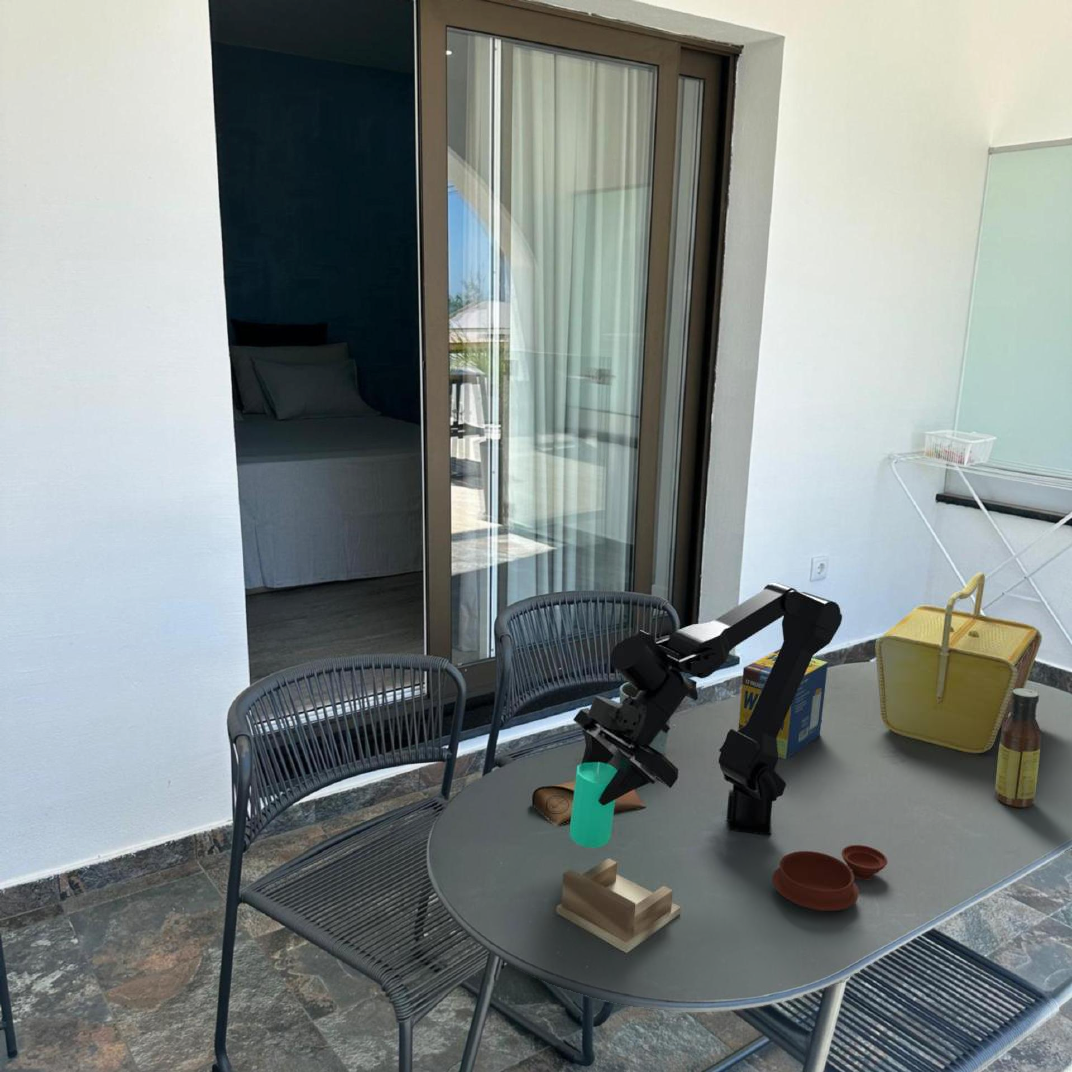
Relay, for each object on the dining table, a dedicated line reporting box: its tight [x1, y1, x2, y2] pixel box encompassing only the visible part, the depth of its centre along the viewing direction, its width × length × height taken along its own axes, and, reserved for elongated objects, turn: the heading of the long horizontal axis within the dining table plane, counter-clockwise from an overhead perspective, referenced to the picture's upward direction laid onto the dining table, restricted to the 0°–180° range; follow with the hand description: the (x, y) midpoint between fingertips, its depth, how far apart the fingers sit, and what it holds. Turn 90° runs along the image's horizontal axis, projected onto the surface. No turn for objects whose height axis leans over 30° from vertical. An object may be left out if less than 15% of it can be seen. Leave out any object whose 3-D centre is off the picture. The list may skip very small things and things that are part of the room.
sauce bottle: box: [994, 688, 1042, 808], centre depth 165 cm, size 6×6×20 cm
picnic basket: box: [874, 571, 1043, 754], centre depth 195 cm, size 29×26×30 cm
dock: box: [555, 858, 682, 954], centre depth 131 cm, size 12×12×6 cm
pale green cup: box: [619, 681, 672, 759], centre depth 181 cm, size 10×10×12 cm
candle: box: [569, 762, 618, 849], centre depth 138 cm, size 6×6×12 cm
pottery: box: [771, 844, 888, 912], centre depth 139 cm, size 12×20×4 cm, turn 125°
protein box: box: [737, 648, 829, 760], centre depth 187 cm, size 10×15×16 cm
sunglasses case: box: [531, 780, 647, 826], centre depth 161 cm, size 18×7×7 cm
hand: (588, 794), depth 137 cm, fingers closed on candle, 5 cm apart
